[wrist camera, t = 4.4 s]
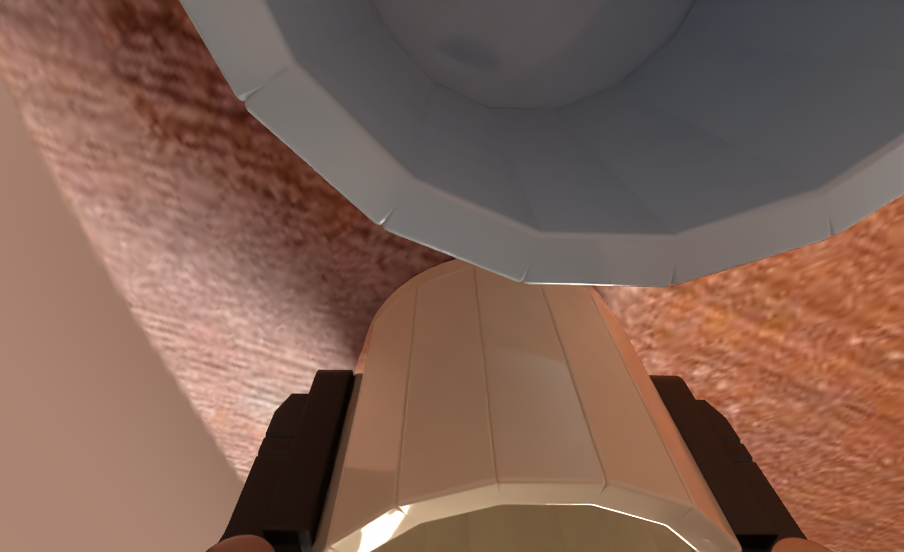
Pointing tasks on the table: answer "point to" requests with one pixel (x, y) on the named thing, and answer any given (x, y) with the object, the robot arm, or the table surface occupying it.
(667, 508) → the cream cup
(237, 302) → the table surface
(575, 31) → the gray cup
